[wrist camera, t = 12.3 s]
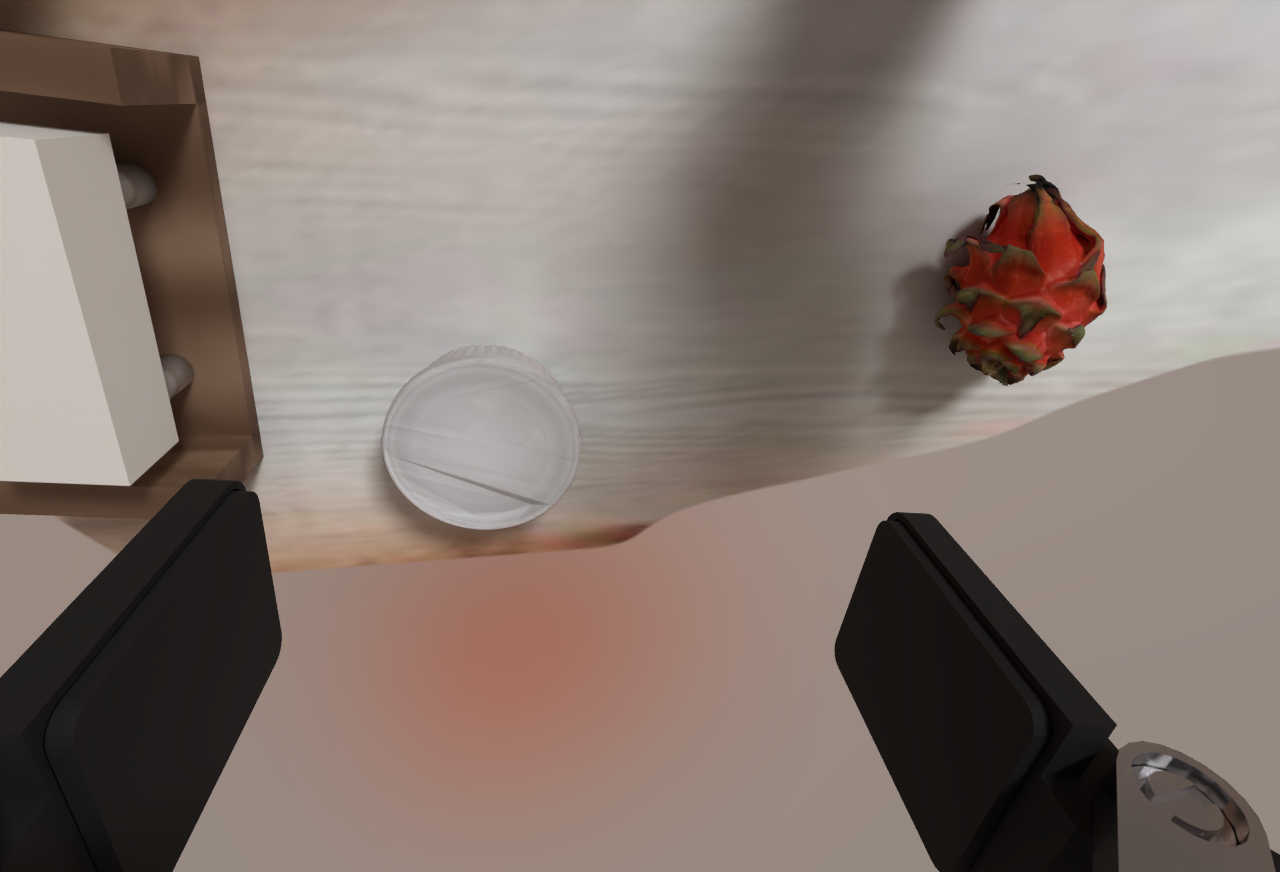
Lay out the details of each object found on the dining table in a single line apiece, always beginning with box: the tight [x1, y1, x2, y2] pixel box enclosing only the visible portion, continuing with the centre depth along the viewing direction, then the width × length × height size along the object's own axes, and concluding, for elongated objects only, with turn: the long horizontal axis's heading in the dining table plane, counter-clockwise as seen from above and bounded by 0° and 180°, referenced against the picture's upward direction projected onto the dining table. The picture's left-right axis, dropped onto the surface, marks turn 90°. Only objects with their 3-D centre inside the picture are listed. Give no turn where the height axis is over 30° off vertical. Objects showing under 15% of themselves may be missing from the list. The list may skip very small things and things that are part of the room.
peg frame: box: [0, 30, 263, 519], centre depth 32 cm, size 22×10×7 cm, turn 173°
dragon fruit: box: [935, 175, 1107, 386], centre depth 38 cm, size 8×8×12 cm
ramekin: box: [381, 344, 581, 530], centre depth 39 cm, size 11×11×5 cm
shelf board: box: [0, 121, 179, 486], centre depth 29 cm, size 15×6×4 cm, turn 173°
